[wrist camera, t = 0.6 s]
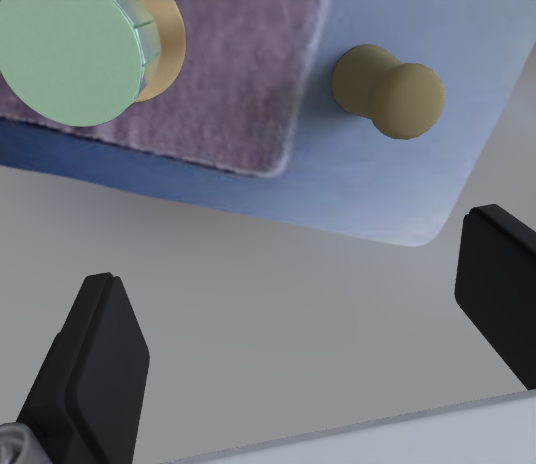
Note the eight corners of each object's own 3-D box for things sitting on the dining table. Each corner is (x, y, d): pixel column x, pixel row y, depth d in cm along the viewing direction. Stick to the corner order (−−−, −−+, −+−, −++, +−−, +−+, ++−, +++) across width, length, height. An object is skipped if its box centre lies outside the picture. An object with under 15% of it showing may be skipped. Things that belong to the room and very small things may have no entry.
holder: (36, -30, 30) (-81, -51, 18) (171, -46, 31) (145, -77, 19) (81, 107, 35) (14, 162, 23) (197, 91, 36) (189, 137, 24)
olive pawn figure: (331, 117, 38) (370, 155, 29) (331, 47, 35) (375, 64, 26) (393, 110, 39) (452, 146, 29) (398, 41, 36) (466, 55, 26)
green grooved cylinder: (37, -11, 26) (-37, -17, 18) (146, -24, 27) (119, -35, 19) (74, 100, 30) (26, 135, 22) (170, 87, 30) (156, 117, 22)
